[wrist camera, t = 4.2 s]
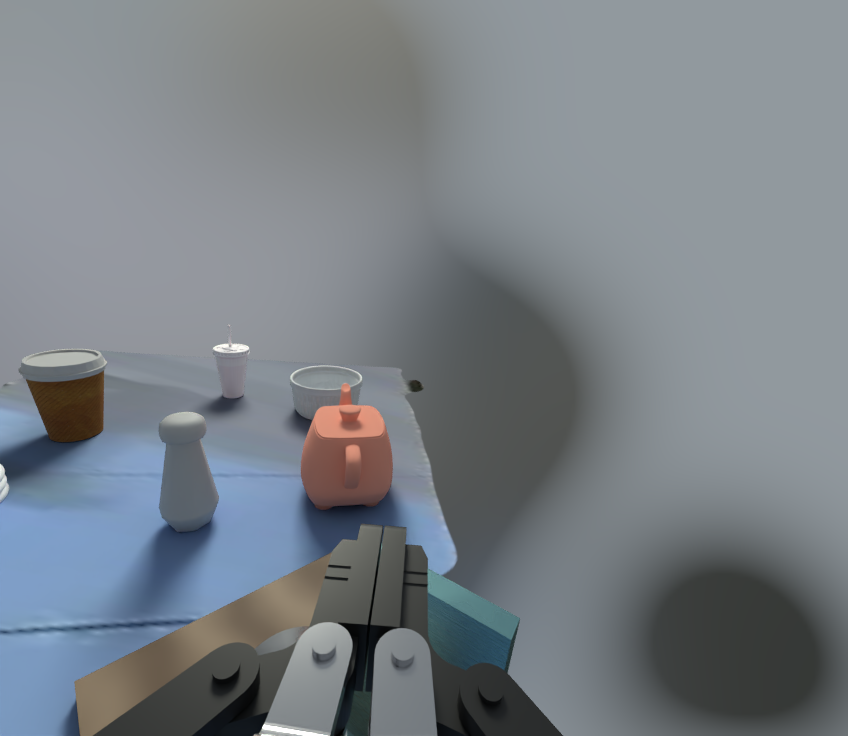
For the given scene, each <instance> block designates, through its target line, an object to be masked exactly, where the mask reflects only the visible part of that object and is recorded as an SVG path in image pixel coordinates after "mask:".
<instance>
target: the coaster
mask: <svg viewBox="0 0 848 736" xmlns="http://www.w3.org/2000/svg"><path fill="white" fill-rule="evenodd" d="M8 491H9V485H8V483H7V477H6V475H5V469H4V467H3V466H2V465H1V464H0V503H1V502H2V501H3V500H4V499H5V498H6V496H7V494H8Z"/></svg>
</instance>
